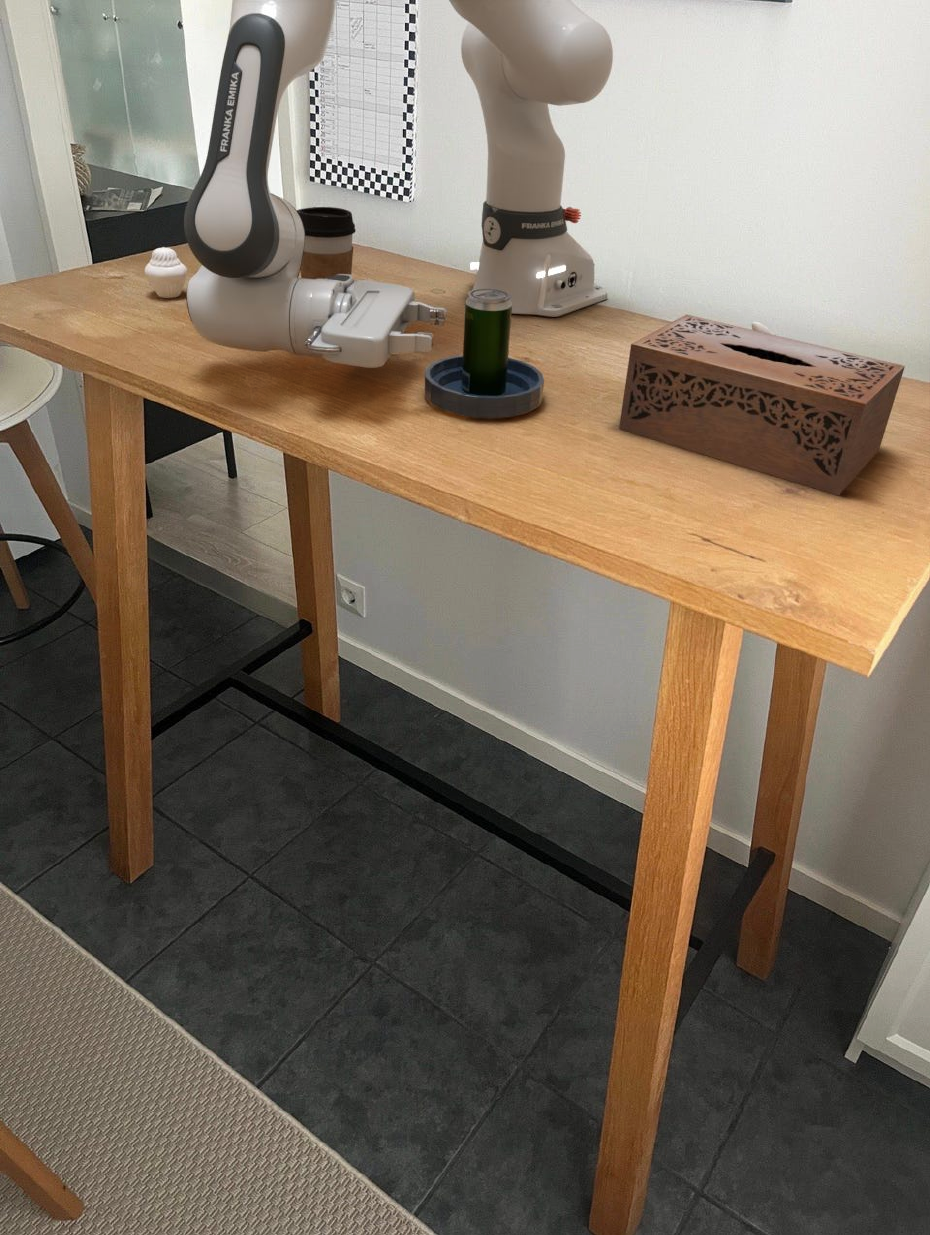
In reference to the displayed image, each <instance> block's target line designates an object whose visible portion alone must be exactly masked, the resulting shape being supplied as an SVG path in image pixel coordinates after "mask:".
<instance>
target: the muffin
mask: <svg viewBox="0 0 930 1235" xmlns="http://www.w3.org/2000/svg"><path fill="white" fill-rule="evenodd" d="M144 275H145V277H146V278H147V281H148V283H149V284H150V286H151V288H152V289H153V291H155V293H156V295H157V296H158V297H159V298H164V299H172V298H173V299H174V298H178V297H180V296H181V294H182V291H183V289H184V286H185V284H186V281H187V275H188V268H187V266H186V265H185V264H183V262H181V260H180V258H178V255H177V252H176V251H175V250H174V249H173V248H170V247H165V246H162V247H158V248H155V249H154V250H153V251H152V252H151V259H150V260H149V262H148V263H147V264H146V265H145V267H144Z"/></svg>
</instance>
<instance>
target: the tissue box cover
mask: <svg viewBox="0 0 930 1235" xmlns="http://www.w3.org/2000/svg"><path fill="white" fill-rule="evenodd" d="M905 368H906V366H905V365H902V364H898V363H894V362H891V361H886V360H882V359H877V358H872V357H868V356H865V355H860V354H856V353H851V352H848V351H843V350H839V349H835V348H832V347H831V348H830V347H827V346H823V345H818V344H814V343H809V342H805V341H800V340H797V339H793V338H788V337H784V336H779V335H775V334H774V335H772V334H767V333H763V332H759V331H755V330H753V329H751V328H747V327H741V326H737V325H733V324H729V323H724V322H720V321H717V320H712V319H708V318H703V317H699V316H695V315H691V314H684V315H683V316H681V317H678V318H677V319H675V320H673V321H672V322H670V323H668V324H666V325H664V326H662V327H660V328H658V329H657V330H655V331H653V332H651V333H649V334H647V335H645V336H643V337H642V338H640V339H638V340H636V341H634V342H632V343H631V344H630V350H629V356H628V363H627V370H626V377H625V384H624V392H623V398H622V405H621V412H620V417H619V426H618V430H621V431H622V430H623V431H625V432H629V433H632V434H636V435H639V436H641V437H645V438H648V439H650V440H651V439H652V440H654V441H659V442H662V443H664V444H668V445H670V446H671V445H672V446H675V447H677V448H681V449H685V450H688V451H690V452H694V453H697V454H700V455H704V456H707V457H711V458H714V459H717V460H720V461H723V462H727V463H731V464H734V465H736V466H741V467H744V468H747V469H750V470H754V471H756V472H760V473H763V474H766V475H770V476H773V477H776V478H779V479H782V480H786V481H789V482H793V483H796V484H800V485H803V486H806V487H810V488H813V489H816V490H819V491H822V492H826V493H829V494H833V495H836V496H840V495H841V494H842V493H843V492H844V490H845V489H846V488H847V487H848V486H849V485H850V484H851V482H853V481H854V479H856V477H857V476H858V475H859V474H860V472H862V471H863V469H864V468H865V467H866V466H867V465H868V464H869V463H870V462H871V460H873V458H874V457H875V456H876V455H877V453H879V452H880V449H881V445H882V442H883V439H884V435H885V433H886V429H887V426H888V423H889V419H890V417H891V413H892V409H893V406H894V403H895V400H896V396H897V393H898V390H899V387H900V384H901V380H902V377H903V374H904V371H905Z"/></svg>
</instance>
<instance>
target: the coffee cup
mask: <svg viewBox="0 0 930 1235" xmlns="http://www.w3.org/2000/svg"><path fill="white" fill-rule="evenodd" d="M296 211H297V212H298V214H299V215H300V217H301V219H302V222H303V225H304V229H305V247H304V253H303V259H302V264H301V269H300V278H305V279H326V278H329V277H332V276H335V275H338V274H348V275H352V272H353V270H352V269H353V260H354V259H353V256H354V246H353V235H354V234H355V233H356V224H355V222H354V219H353V214H352V212H351V211H350V210H347V209H345V208H341V207H334V206H333V207H332V206H313V207H312V206H311V207H305V208H300V209H296Z"/></svg>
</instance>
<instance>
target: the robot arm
mask: <svg viewBox="0 0 930 1235" xmlns="http://www.w3.org/2000/svg"><path fill="white" fill-rule="evenodd" d="M448 1H449V3H450V5H451V6H452V8H453V9H454V11H455V12H457V14H458V15H459V16H460V17H461V18H462V19H463V20H465V21H466V22H468V23H467V25H466V26H465V28H464V31H463V34H462V37H461V46H460V53H461V59H462V64H463V67H464V69H465V71H466V73H467V74H468V76H469V77H470V79H471V80H472V83H473V84H474V86H475V89H476V92H477V95H478V98H479V102H480V107H481V110H482V116H483V122H484V126H485V133H486V142H487V168H486V169H487V170H486V171H487V172H486V194H485V195H486V196H485V201H484V202H483V204H482V212H481V213H482V214H481V232H482V243H481V248H480V252H479V253H480V254H479V258H478V261H476V262H470V270H476V275H475V280H474V283H473V286H472V290H475V289H497V290H502V291H505V292H507V293H509V294H510V296H511V298H510V301H511V304H512V313H511V314H516V315H517V314H518V315H534V316H535V315H537V316H541V317H549V318H550V317H552V318H556V317H561V316H563V315H567V314H569V313H572V312H574V311H577V310H580V309H583V308H585V307H589V306H592V305H593V304H597V303H599V302H602V301H605V300H607V299H608V291H607V290H606V289H605V288H603V287H601V286H600V285H598V284H596V283H595V263H594V259H593V257H592V255H591V254H590V253H589V252H588V251H587V250H586V249H585V248H584V247H583V246H582V245H581V244H580V243H579V242H578V241H577V240H576V239H575V238H574V237H573V236H572V235H571V234H570V233H569V232H568V225H567V222H570V223H572V224H577V223H579V220H581V216H582V213H581V210H580V209H578V208H573V207H572V206H568V207H566V208H563V206H562V205H561V204H562V195H563V194H562V193H563V183H564V182H563V181H564V173H565V172H564V171H565V162H566V160H565V159H566V150H565V146H564V143H563V141H562V139H561V138H560V136H558V134H557V132H556V130H555V128H554V125H553V122H552V118H551V115H550V110H549V105H551V106H558V107H559V106H560V107H561V106H571V105H579V104H585V103H588V102H590V101H593V100H594V99H595V98H596V97H597V96H599V94H601V92H602V91H603V89H604V88H605V86H606V85H607V83H608V80H609V78H610V75H611V73H612V68H613V62H614V50H613V44H612V43H613V42H612V40H611V36H610V34H609V33H608V31H607V29H606V28H605V27H604V26H603V25H602V24H601V23H600V22H598V21H596V20H595V19H594V18H592V17H591V16H589V15H588V14H586V13H585V12H584V11H582V10H581V8H579V7H578V6H577V5H576V4H575V3H574V2H573V1H572V0H448ZM336 6H337V0H232V3H231V11H230V12H231V13H230V22H229V29H228V33H227V34H228V35H227V40H226V44H225V49H224V53H223V57H222V62H221V67H220V75H219V79H218V86H217V93H216V99H215V105H214V112H213V118H212V124H211V131H210V137H209V142H208V149H207V154H206V158H205V159H206V160H205V163H204V166H203V169H202V171H201V174H200V176H199V178H198V180H197V182H196V184H195V186H194V188H193V190H192V192H191V194H190V196H189V198H188V201H187V203H186V206H185V210H184V215H183V229H184V236H185V240H186V243H187V246H188V247H189V249H190V251H191V253H192V254H193V256H194V257H195V260H197V261H198V263H199V264H200V265H201V266H200V267H199V269H198V270H197V272H196V273H194V275H193V276H191V277H190V279H189V280H188V283H187V286H186V294H185V300H186V307H187V308H186V309H187V312H188V313H187V314H188V316H189V319H190V322H191V323H192V325H193V327H194V329H195V331H196V332H197V334H199V336H200V337H201V338H202V339H204V340H206V341H207V342H210V343H212V344H214V345H217V346H221V347H225V348H231V349H235V350H241V351H242V350H244V351H251V352H252V351H253V352H259V353H260V352H262V353H263V352H271V351H284V352H287V353H289V354H291V355H295V356H304V357H314V358H323V359H324V360H325V361H328V362H331V363H335V364H340V365H345V366H352V367H359V368H366V369H376V368H381V367H384V366H385V364H386V362H387V360H388V359H389V357H390V356H391V354H392V355H402V354H408V353H414V352H421V353H429V352H430V351H431V350H432V348H433V346H434V335H433V334H432V332H424V331H417V333H404V332H405V330H406V329H407V328H408V326H409V324H410V323H418V322H423V323H427V324H429V326H434V327H435V326H437V327H442V326H444V324H445V323H446V320H447V310H446V309H445V308H444V307H435V306H431V305H429V304H426V303H423V302H421V301H415V297H416V296H415V290H414V289H412V288H411V287H408V286H405V285H402V284H396V283H390V282H384V281H383V282H382V281H376V280H367V279H361V280H360V279H359V280H355V277H354V275H353V274H351V275H348V274H338V275H335V276H332V277H329V278H326V279H305V278H301V277H300V274H301V272H300V269H301V264H302V259H303V253H304V247H305V229H304V225H303V222H302V219H301V217H300V215H299V214H298V212H297V209H296V207H294V205H292V203H290V202H289V201H287V200H286V199H284V198H283V197H280V196H278V195H276V194H274V193H273V192H272V193H271V191H270V186H269V169H270V161H271V156H272V150H273V144H274V137H275V131H276V124H277V118H278V112H279V107H280V104H281V100H282V97H283V95H284V94H285V91H286V90H287V88H288V87H289V85H290V84H291V83H293V81H294V80H296V79H298V78H299V77H302V76H305V75H306V74H309V73H310V72H312V71H313V70H314V69H315V68H316V67H318V65H319V64H320V63H321V62H322V61H323V59H324V57H325V54H326V52H327V48H328V45H329V42H330V37H331V34H332V30H333V25H334V20H335V14H336ZM472 290H471V291H472Z"/></svg>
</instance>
